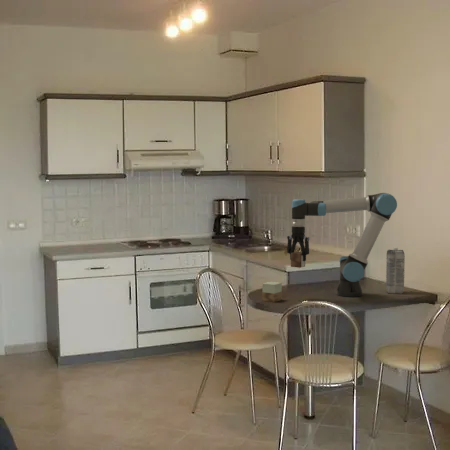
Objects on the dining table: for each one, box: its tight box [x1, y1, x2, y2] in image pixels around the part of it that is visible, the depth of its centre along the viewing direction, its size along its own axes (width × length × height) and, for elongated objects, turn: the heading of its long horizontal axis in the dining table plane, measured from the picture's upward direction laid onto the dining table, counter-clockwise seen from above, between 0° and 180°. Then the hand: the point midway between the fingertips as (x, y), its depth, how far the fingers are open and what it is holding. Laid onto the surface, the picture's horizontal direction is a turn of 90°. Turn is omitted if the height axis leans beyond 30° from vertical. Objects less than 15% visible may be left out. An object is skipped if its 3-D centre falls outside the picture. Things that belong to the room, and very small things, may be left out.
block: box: [290, 251, 306, 269], centre depth 410 cm, size 6×6×8 cm
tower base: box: [261, 292, 283, 303], centre depth 408 cm, size 8×8×5 cm
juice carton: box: [385, 247, 406, 295], centre depth 429 cm, size 9×10×27 cm
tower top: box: [261, 281, 283, 294], centre depth 407 cm, size 8×8×5 cm
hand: (297, 266), depth 411 cm, fingers closed on block, 6 cm apart
